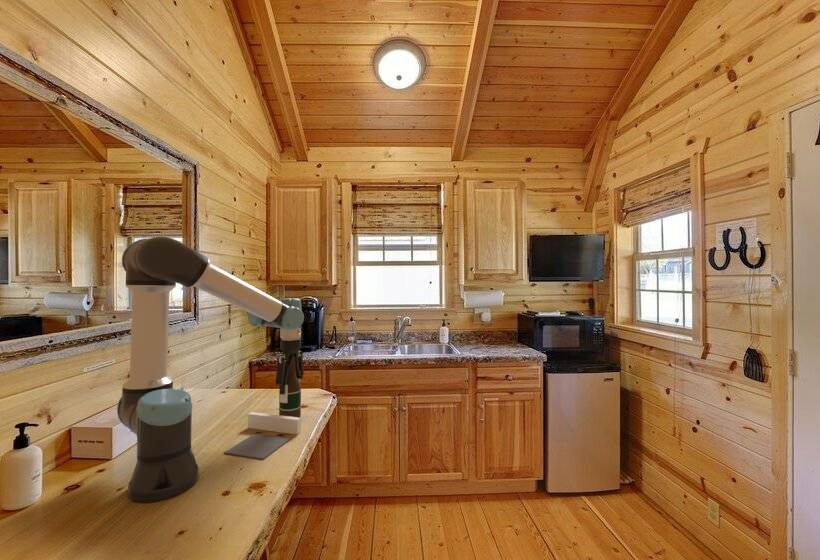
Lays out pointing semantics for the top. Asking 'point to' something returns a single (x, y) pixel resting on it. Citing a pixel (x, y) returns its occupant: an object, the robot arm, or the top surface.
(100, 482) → the top surface
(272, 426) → the wall
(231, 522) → the top surface
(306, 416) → the top surface
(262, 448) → the mat
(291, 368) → the beer bottle
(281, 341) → the robot arm
